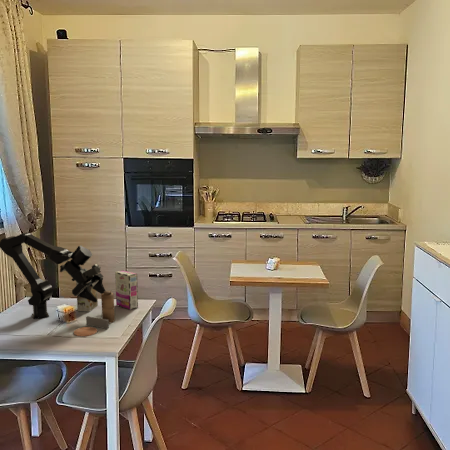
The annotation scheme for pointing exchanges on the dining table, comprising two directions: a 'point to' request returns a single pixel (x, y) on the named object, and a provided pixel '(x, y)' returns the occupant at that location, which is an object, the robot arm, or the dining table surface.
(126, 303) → the candy bar box
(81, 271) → the robot arm
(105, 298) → the walnut mill
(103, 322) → the grey flat bar
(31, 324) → the dining table surface
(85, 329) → the coaster
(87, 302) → the coffee box
